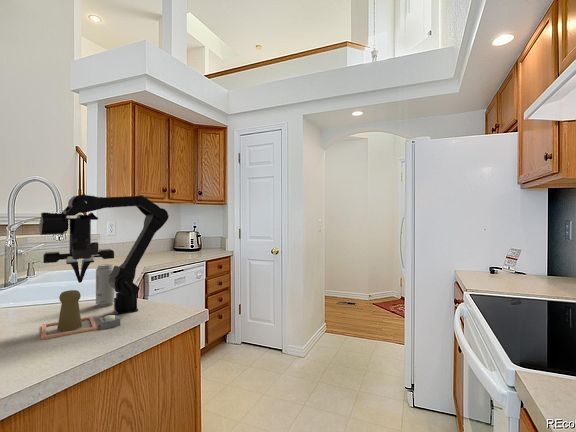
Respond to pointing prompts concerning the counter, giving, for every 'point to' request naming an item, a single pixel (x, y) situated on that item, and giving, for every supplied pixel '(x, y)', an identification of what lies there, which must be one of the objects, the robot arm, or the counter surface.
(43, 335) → the terracotta outline
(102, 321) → the button box
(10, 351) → the counter surface
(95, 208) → the robot arm
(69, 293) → the olive pepper mill
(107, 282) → the energy drink can
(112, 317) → the button
